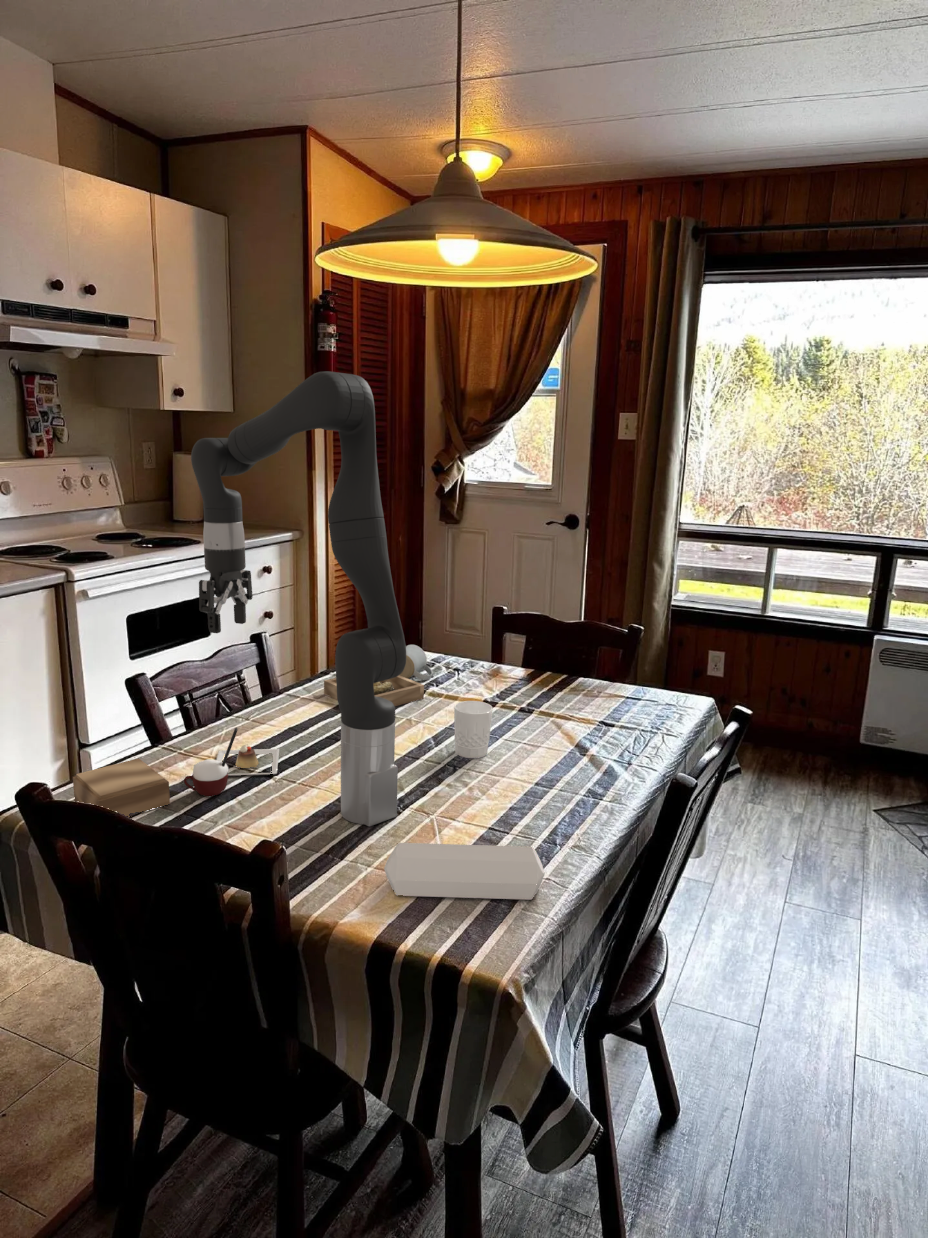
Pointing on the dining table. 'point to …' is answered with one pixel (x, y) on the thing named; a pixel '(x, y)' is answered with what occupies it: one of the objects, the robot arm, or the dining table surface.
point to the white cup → (472, 728)
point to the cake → (382, 687)
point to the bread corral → (401, 695)
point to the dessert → (250, 758)
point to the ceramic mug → (416, 663)
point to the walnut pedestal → (123, 787)
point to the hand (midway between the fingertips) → (228, 627)
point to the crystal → (464, 871)
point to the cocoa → (211, 774)
